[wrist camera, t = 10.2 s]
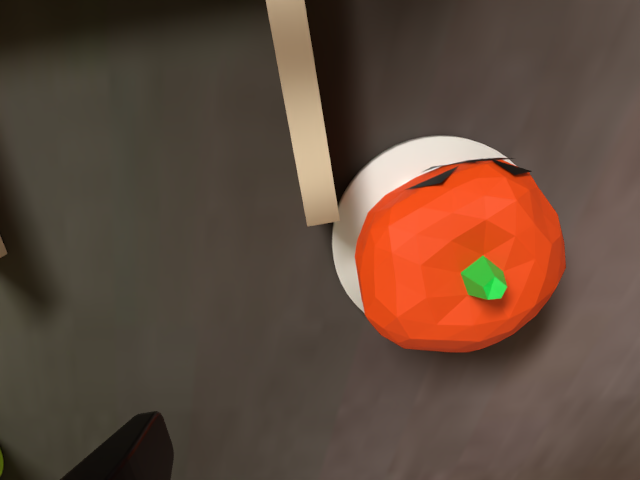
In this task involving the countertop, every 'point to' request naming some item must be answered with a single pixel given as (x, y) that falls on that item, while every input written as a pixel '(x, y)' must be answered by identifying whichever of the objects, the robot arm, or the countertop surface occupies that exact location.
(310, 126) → the wooden frame
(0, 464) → the soap dispenser
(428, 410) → the countertop surface
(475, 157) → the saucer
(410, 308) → the pumpkin
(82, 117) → the countertop surface
